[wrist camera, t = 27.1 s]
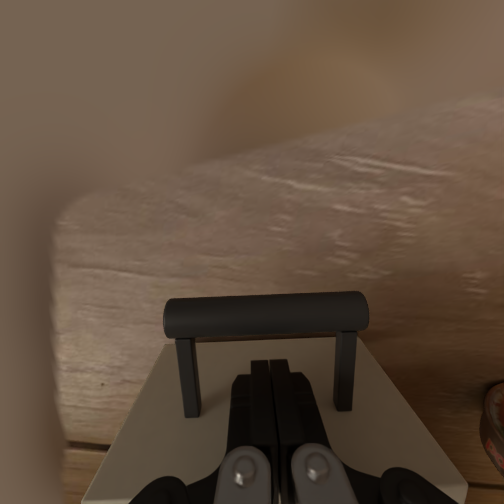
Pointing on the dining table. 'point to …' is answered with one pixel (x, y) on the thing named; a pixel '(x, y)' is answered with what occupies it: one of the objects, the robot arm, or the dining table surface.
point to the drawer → (239, 362)
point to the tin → (494, 426)
